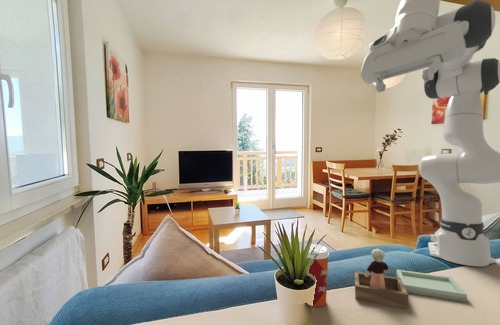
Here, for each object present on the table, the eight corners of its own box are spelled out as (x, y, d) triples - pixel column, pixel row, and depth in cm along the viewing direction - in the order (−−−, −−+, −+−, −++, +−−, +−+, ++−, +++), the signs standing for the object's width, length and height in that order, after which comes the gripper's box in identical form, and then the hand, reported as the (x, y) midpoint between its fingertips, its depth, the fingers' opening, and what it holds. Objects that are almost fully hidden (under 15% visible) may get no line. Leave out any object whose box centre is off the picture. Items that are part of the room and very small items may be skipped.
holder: (354, 283, 72) (354, 271, 72) (400, 290, 68) (400, 278, 68) (355, 299, 64) (355, 286, 64) (408, 308, 59) (408, 294, 59)
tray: (396, 275, 76) (396, 269, 76) (451, 283, 71) (451, 276, 71) (403, 291, 67) (403, 284, 67) (466, 302, 62) (466, 294, 62)
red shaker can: (332, 311, 59) (331, 254, 59) (300, 308, 60) (299, 252, 60) (328, 293, 67) (327, 243, 67) (300, 291, 68) (299, 242, 68)
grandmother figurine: (375, 301, 62) (374, 253, 62) (362, 294, 66) (362, 248, 66) (394, 294, 66) (394, 248, 66) (382, 288, 69) (381, 244, 69)
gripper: (473, 28, 50) (467, 80, 46) (374, 62, 67) (363, 103, 63) (466, 4, 47) (459, 57, 43) (363, 46, 63) (352, 88, 59)
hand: (401, 84), depth 53 cm, fingers open, 8 cm apart
